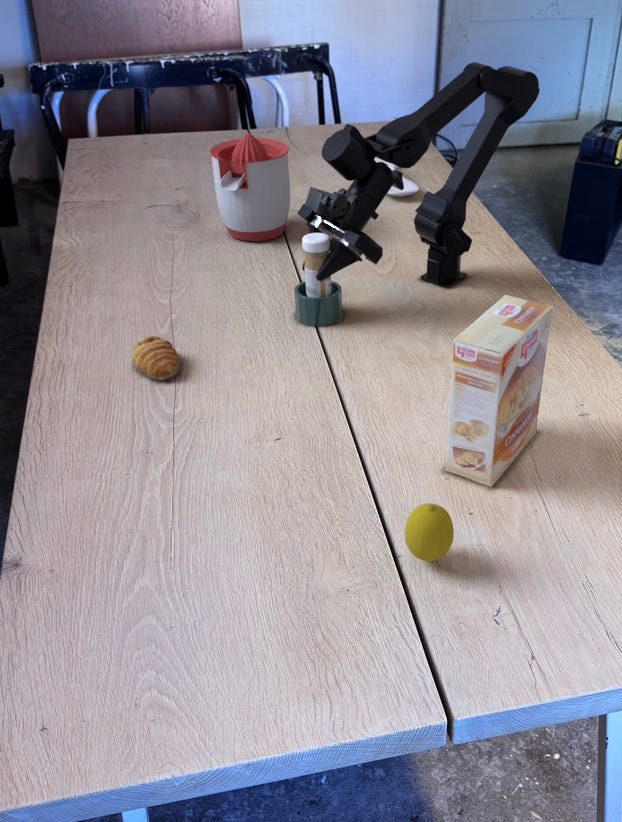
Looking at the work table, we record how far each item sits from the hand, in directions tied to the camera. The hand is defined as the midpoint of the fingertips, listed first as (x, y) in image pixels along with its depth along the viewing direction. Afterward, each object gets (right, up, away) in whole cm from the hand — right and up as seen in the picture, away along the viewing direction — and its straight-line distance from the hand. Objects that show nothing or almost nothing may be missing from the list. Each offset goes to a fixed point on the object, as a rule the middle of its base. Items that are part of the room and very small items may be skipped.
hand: (310, 275), depth 147 cm
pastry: (-23, -17, -8) cm, 30 cm away
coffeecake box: (+27, -31, -28) cm, 49 cm away
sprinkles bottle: (+1, -5, +5) cm, 7 cm away
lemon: (+17, -44, -45) cm, 65 cm away
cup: (+1, -6, +5) cm, 8 cm away
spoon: (+15, +37, +62) cm, 74 cm away
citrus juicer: (-14, +17, +36) cm, 42 cm away
